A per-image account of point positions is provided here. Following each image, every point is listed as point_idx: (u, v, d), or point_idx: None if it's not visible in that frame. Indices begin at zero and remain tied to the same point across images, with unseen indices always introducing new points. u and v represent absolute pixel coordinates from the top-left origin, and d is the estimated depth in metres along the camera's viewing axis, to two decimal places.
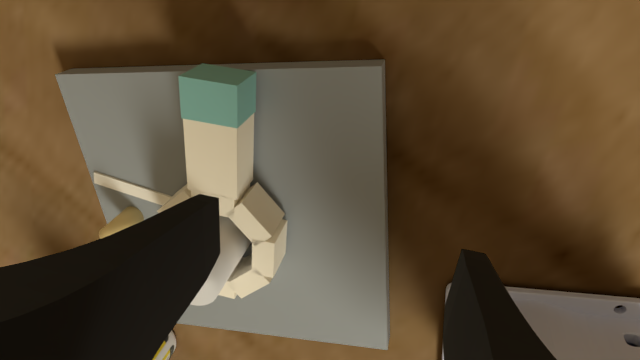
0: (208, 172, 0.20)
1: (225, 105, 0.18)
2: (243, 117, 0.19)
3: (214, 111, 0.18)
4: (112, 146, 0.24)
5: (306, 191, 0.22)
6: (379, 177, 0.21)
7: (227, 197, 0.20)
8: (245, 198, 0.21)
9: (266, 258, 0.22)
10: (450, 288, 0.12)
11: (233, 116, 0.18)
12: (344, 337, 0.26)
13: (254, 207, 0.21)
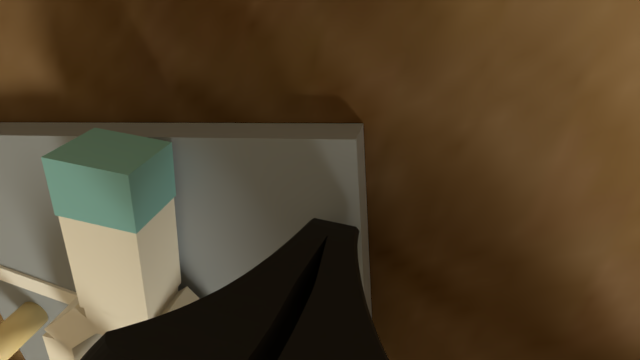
0: (104, 287, 0.14)
1: (114, 201, 0.12)
2: (148, 214, 0.13)
3: (100, 208, 0.12)
4: None
5: None
6: None
7: (136, 321, 0.14)
8: None
9: None
10: None
11: (128, 217, 0.12)
12: None
13: None
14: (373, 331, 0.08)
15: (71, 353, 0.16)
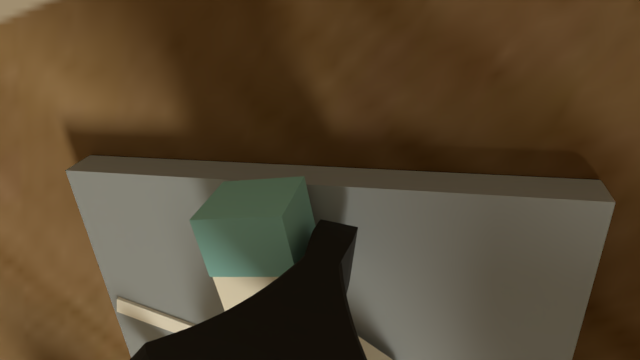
0: None
1: (270, 248, 0.11)
2: (300, 254, 0.12)
3: (256, 259, 0.12)
4: (146, 269, 0.16)
5: (441, 353, 0.15)
6: (567, 348, 0.14)
7: None
8: None
9: None
10: None
11: (286, 261, 0.11)
12: None
13: None
14: (351, 326, 0.08)
15: None
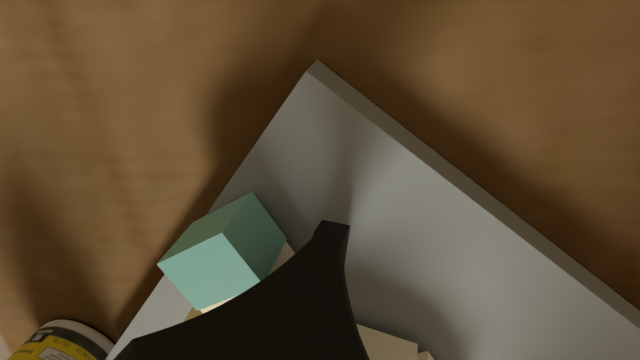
0: None
1: (228, 265, 0.12)
2: (265, 263, 0.12)
3: (223, 279, 0.12)
4: (289, 212, 0.13)
5: None
6: None
7: None
8: None
9: None
10: None
11: (247, 273, 0.12)
12: None
13: None
14: (353, 326, 0.08)
15: None
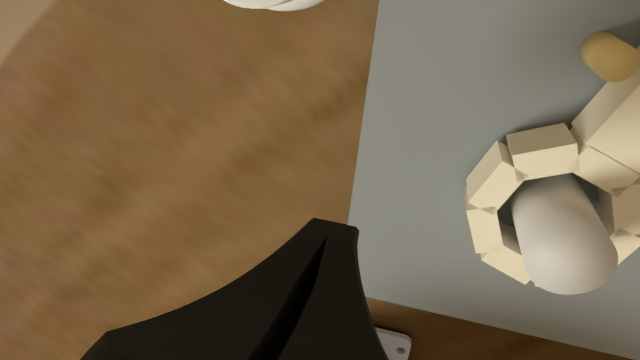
0: (636, 133, 0.15)
1: None
2: None
3: None
4: None
5: None
6: (553, 337, 0.23)
7: (632, 171, 0.16)
8: None
9: None
10: None
11: None
12: None
13: None
14: (373, 331, 0.08)
15: (516, 185, 0.17)
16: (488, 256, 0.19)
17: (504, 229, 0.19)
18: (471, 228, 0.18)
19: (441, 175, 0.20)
